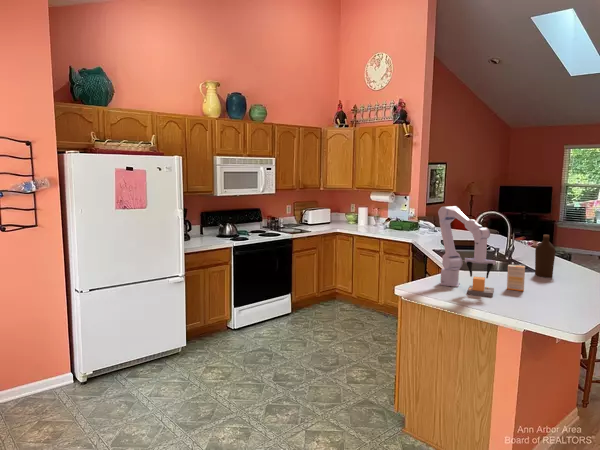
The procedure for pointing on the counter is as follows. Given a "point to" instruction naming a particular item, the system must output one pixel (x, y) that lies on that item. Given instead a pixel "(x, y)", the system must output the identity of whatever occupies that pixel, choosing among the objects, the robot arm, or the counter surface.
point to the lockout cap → (478, 283)
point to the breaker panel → (486, 291)
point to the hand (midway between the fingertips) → (479, 277)
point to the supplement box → (515, 277)
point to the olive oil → (544, 258)
